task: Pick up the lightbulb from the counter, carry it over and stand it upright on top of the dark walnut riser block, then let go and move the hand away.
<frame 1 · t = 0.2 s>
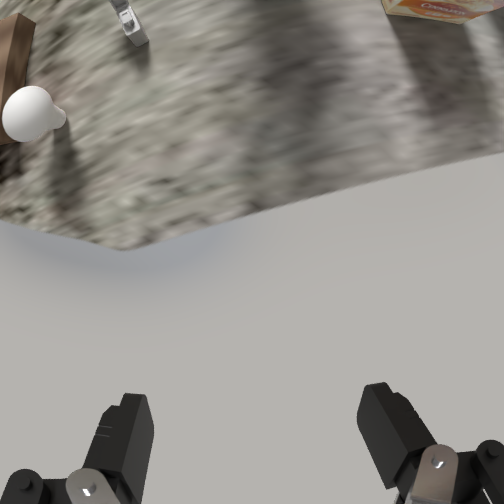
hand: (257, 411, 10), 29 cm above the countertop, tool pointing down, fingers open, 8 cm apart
lightbulb: (61, 119, 32), on the countertop
coffeecake box: (419, 1, 30), on the countertop
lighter: (134, 25, 30), on the countertop
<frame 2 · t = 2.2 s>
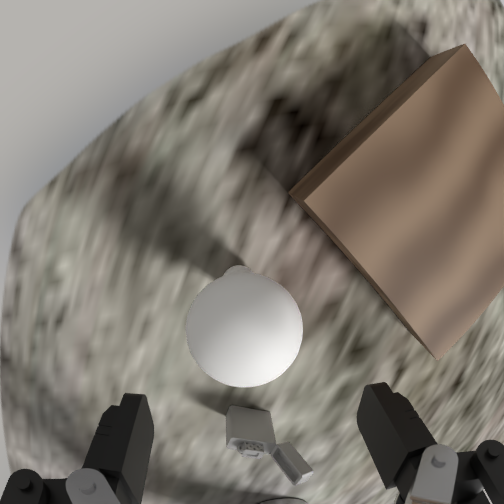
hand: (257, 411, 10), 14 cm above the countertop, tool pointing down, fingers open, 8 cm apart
lightbulb: (238, 276, 24), on the countertop
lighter: (262, 415, 29), on the countertop
riser: (432, 199, 24), on the countertop
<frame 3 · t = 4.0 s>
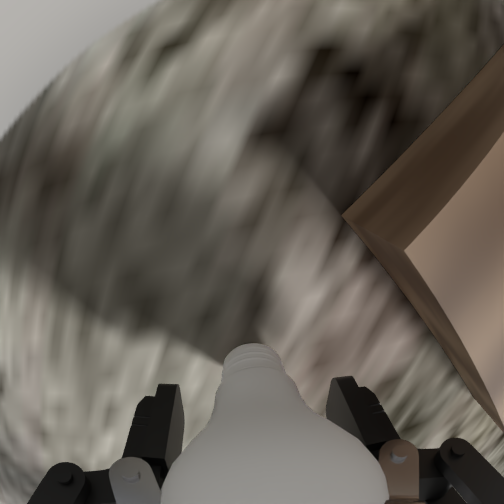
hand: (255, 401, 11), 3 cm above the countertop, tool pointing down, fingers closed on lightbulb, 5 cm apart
lightbulb: (250, 354, 14), on the countertop, touching gripper
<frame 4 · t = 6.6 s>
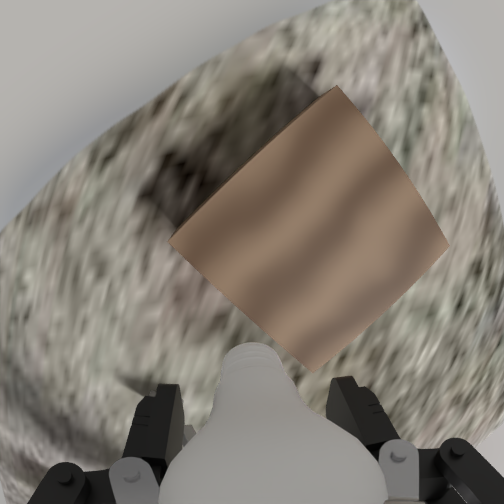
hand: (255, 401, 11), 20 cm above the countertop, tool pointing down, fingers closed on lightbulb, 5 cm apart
lightbulb: (249, 353, 14), point 17 cm above the countertop, touching gripper
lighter: (177, 402, 35), on the countertop
riser: (313, 230, 30), on the countertop
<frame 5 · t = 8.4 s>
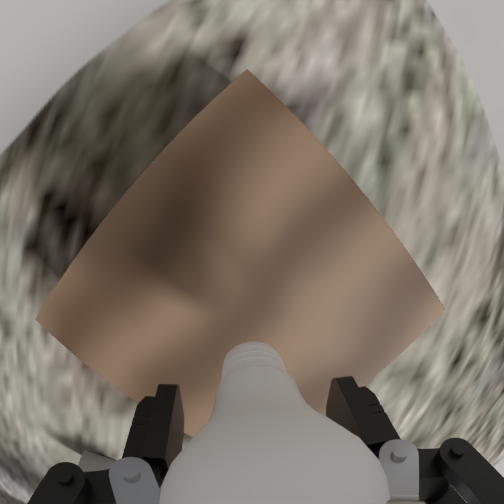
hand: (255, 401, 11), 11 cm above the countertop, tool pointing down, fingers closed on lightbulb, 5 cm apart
lightbulb: (250, 352, 14), point 8 cm above the countertop, touching gripper
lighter: (114, 462, 26), on the countertop
riser: (241, 288, 21), on the countertop
when the fingers open (9 cm above the countertop, at t = 9.6 s): lightbulb drops 1 cm, resting on riser.
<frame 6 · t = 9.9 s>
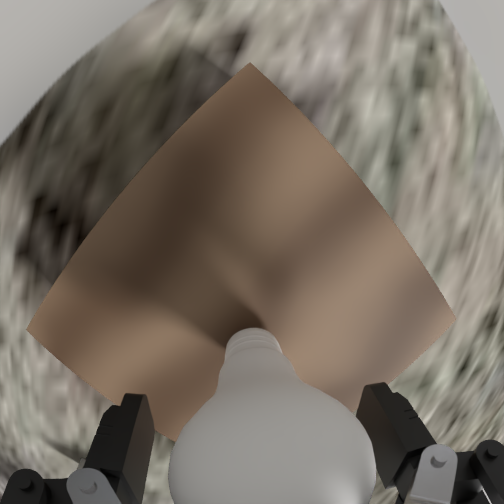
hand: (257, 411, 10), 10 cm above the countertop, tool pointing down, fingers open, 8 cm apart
lightbulb: (250, 339, 16), point 5 cm above the countertop, touching riser
riser: (243, 297, 20), on the countertop
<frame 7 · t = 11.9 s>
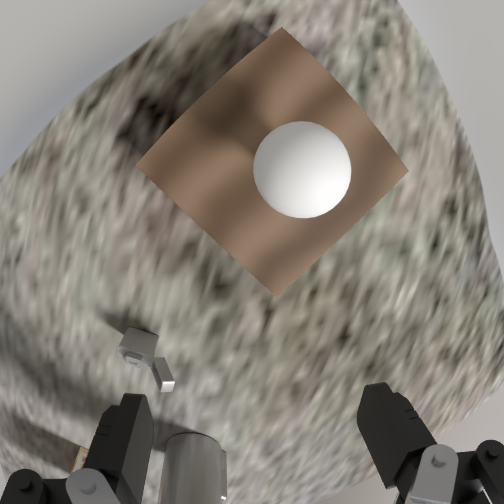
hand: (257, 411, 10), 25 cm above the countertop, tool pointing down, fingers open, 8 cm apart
lightbulb: (282, 163, 27), point 5 cm above the countertop, touching riser
coffeecake box: (90, 466, 47), on the countertop
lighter: (154, 339, 38), on the countertop
riser: (273, 159, 32), on the countertop
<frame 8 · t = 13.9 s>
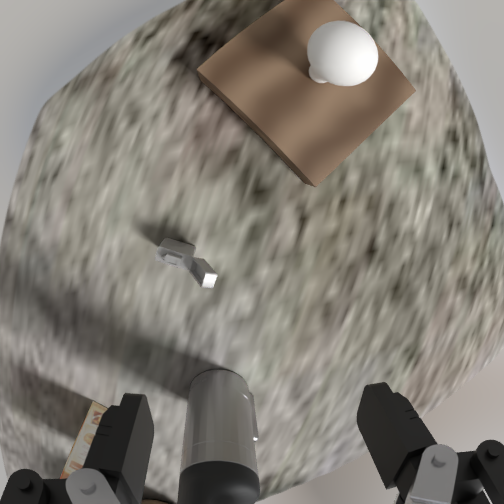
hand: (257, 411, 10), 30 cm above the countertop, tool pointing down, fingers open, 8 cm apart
lightbulb: (317, 74, 30), point 5 cm above the countertop, touching riser
coffeecake box: (101, 428, 48), on the countertop
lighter: (190, 251, 40), on the countertop
riser: (305, 82, 35), on the countertop
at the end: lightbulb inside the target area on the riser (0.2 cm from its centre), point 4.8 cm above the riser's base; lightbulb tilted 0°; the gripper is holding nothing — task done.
